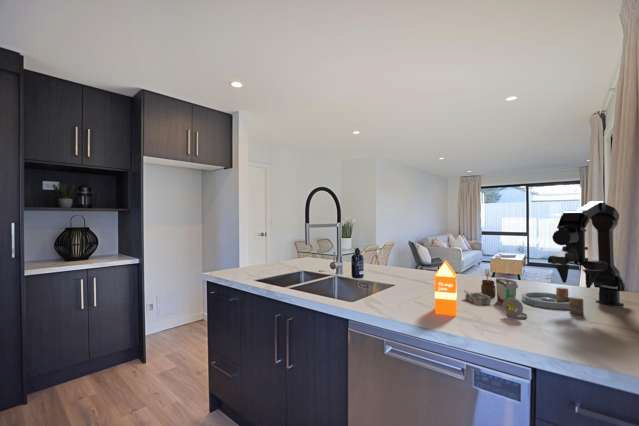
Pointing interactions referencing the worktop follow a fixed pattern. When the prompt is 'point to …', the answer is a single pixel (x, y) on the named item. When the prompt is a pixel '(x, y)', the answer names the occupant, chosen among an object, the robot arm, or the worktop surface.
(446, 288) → the orange juice
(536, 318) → the worktop surface
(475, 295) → the egg carton
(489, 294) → the utensil holder
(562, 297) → the brown cork stopper
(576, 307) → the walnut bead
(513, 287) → the food container
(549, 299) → the groove tray
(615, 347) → the worktop surface
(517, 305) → the pocket watch
